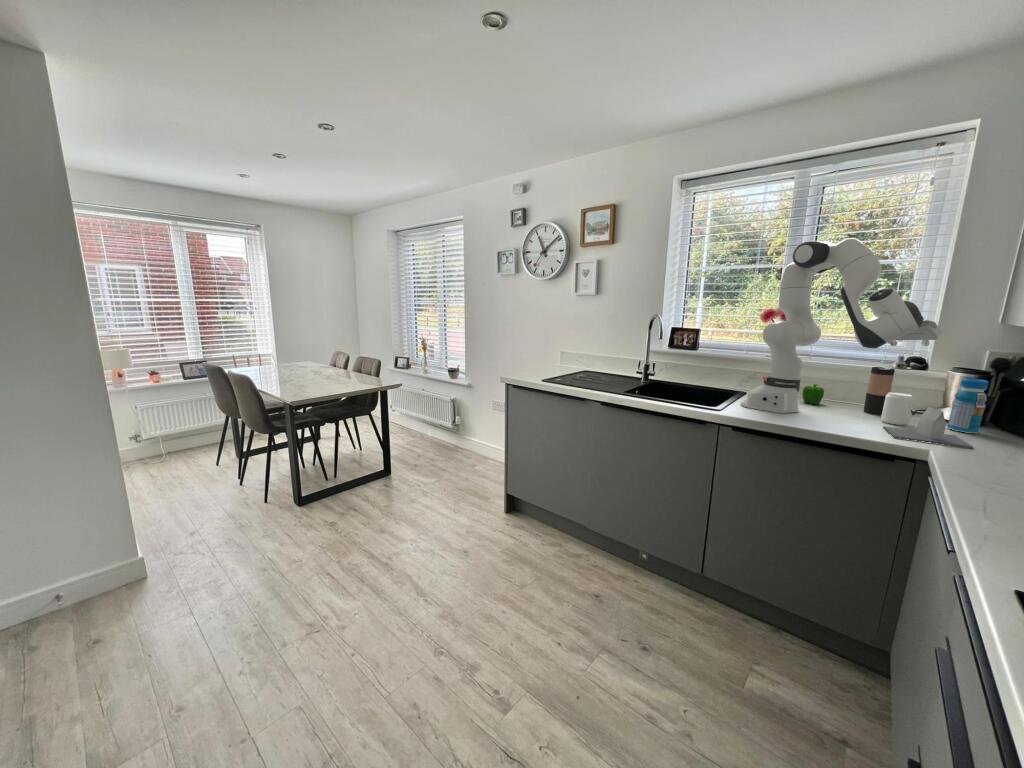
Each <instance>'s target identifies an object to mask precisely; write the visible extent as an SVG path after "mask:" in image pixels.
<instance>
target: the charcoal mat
mask: <svg viewBox="0 0 1024 768" xmlns="http://www.w3.org/2000/svg"><path fill="white" fill-rule="evenodd" d="M883 428H884V429H885V430H886V431H887V432H886V431H885V430H884V429H883ZM882 429H883V430H884V431H885V432H886V433H888V434H889V435H890V434H891V435H892V436H893V437H894V438H893V437H892V436H891V435H890V436H891V437H892V438H893V439H896V438H901V439H900V440H903V439H909V440H908V441H910V440H917V441H916V442H918V441H924V442H923V443H925V442H931V443H930V444H932V443H938V444H937V445H939V444H944V445H943V446H947V445H950V446H949V447H954V446H955V448H956V447H957V448H961V447H962V448H963V449H968V448H969V449H968V450H974V446H973V445H972V444H971V443H968V442H967V441H965V440H964V439H962V438H960V437H959V436H957V435H956V434H955V435H953V434H946V433H944V435H943V439H942V440H939V439H929V438H927V437H924V436H922V435H920V434H918V433H916V432H917V429H908V428H902V427H901V428H900V427H894V426H893V427H891V426H882Z"/></svg>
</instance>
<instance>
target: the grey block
mask: <svg viewBox="0 0 1024 768" xmlns="http://www.w3.org/2000/svg"><path fill="white" fill-rule="evenodd" d="M946 428H947V421H946V418H945V413H944V411H943V410H939V409H937V408H933V407H931V406H928V407H927V408H926V410H925V411H924V412H923V413H922V414H921V415H920V416H919V419H918V424H917V428H916V430H917V432H916V433H918V434H920V435H922V436H924V437H927V438H929V439H939V440H942V439H943V435H944V434H945V431H946Z"/></svg>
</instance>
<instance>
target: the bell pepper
mask: <svg viewBox="0 0 1024 768" xmlns="http://www.w3.org/2000/svg"><path fill="white" fill-rule="evenodd" d="M818 385H819V384H818V383H816V382H815V383H814V384H813V385H812V386H811V385H805V387H803V389H802V400H803V402H804V403H806V404H811V405H818V404H820V403H821V401H822V399H823V397H824V396H825V395H824V394H825V390H824V387H819V386H818Z"/></svg>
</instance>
